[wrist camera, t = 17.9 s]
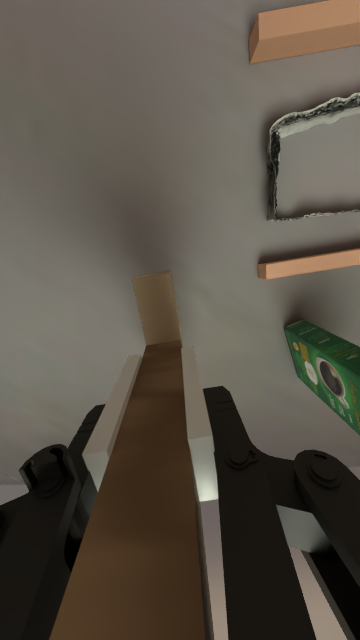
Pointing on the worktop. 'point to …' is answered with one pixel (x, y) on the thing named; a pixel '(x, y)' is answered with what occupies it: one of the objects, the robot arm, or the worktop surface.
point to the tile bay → (298, 39)
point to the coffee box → (328, 368)
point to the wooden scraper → (145, 507)
